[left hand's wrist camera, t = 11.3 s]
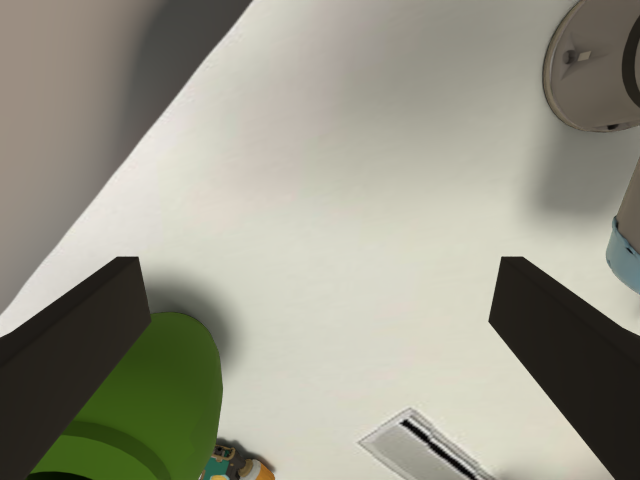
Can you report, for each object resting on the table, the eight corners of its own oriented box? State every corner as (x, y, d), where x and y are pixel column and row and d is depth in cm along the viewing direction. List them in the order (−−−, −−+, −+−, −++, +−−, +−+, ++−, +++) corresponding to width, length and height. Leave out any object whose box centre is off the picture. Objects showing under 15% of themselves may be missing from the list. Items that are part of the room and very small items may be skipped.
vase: (271, 326, 50) (231, 502, 28) (204, 406, 56) (124, 608, 33) (153, 252, 46) (-9, 388, 23) (92, 346, 52) (-86, 531, 29)
